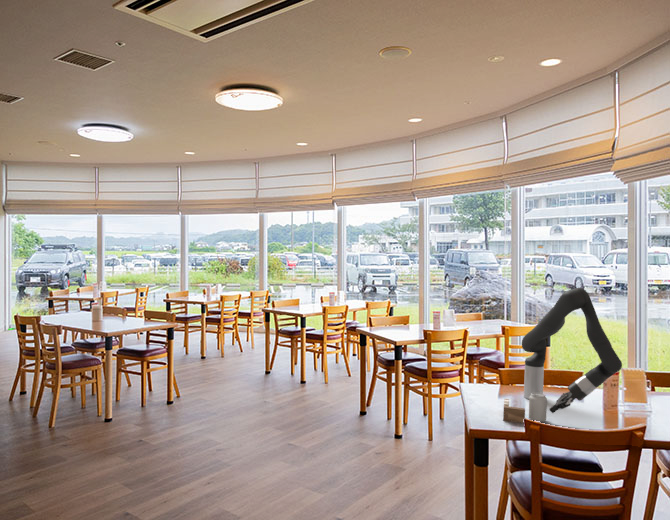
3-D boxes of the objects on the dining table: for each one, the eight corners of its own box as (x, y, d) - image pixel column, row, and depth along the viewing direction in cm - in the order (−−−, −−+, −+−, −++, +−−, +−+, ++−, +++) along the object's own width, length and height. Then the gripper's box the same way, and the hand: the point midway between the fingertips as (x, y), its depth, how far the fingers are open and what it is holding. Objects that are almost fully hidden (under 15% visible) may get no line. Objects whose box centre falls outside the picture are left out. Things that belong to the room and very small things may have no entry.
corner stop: (504, 411, 240) (504, 397, 240) (524, 413, 237) (524, 399, 237) (503, 420, 227) (503, 406, 227) (524, 423, 224) (525, 408, 224)
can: (525, 417, 232) (526, 391, 232) (541, 417, 233) (542, 391, 233) (533, 423, 225) (534, 396, 224) (549, 423, 225) (550, 396, 225)
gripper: (574, 377, 229) (543, 400, 234) (577, 384, 217) (545, 409, 221) (586, 390, 228) (555, 413, 232) (590, 398, 215) (558, 422, 220)
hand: (550, 411), depth 227 cm, fingers closed
